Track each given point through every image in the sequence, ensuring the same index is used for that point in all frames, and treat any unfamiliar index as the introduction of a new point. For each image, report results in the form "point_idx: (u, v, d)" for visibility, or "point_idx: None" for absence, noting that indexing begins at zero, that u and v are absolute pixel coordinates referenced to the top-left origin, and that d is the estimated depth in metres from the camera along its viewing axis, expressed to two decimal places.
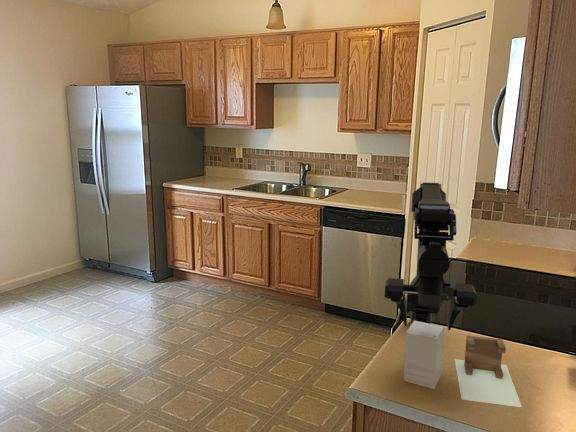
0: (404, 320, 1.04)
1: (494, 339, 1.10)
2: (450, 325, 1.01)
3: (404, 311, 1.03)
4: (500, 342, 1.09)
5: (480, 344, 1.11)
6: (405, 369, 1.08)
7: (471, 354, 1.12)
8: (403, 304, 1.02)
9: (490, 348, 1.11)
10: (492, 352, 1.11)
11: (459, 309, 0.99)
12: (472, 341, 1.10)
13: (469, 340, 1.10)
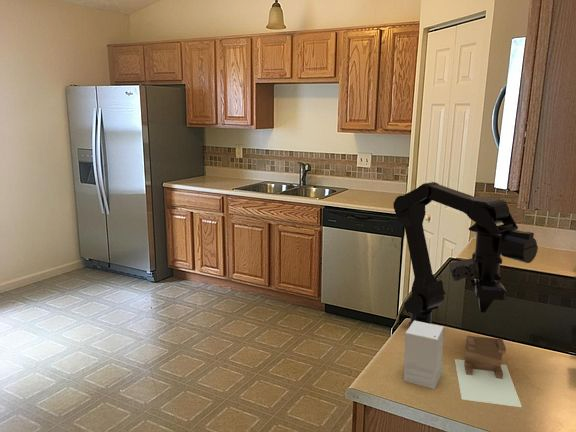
0: (479, 305, 1.16)
1: (494, 339, 1.10)
2: None
3: None
4: (500, 342, 1.09)
5: (480, 344, 1.11)
6: (405, 369, 1.08)
7: (471, 354, 1.12)
8: None
9: (490, 348, 1.11)
10: (492, 352, 1.11)
11: None
12: (472, 341, 1.10)
13: (469, 340, 1.10)
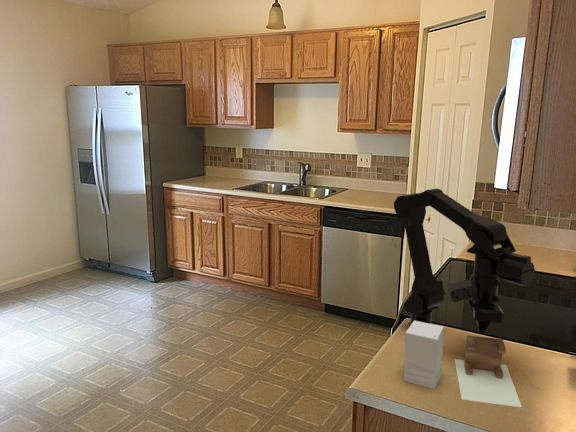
0: None
1: (494, 339, 1.10)
2: (478, 327, 1.16)
3: None
4: (500, 342, 1.09)
5: (480, 344, 1.11)
6: (405, 369, 1.08)
7: (471, 354, 1.12)
8: None
9: (490, 348, 1.11)
10: (492, 352, 1.11)
11: None
12: (472, 341, 1.10)
13: (469, 340, 1.10)
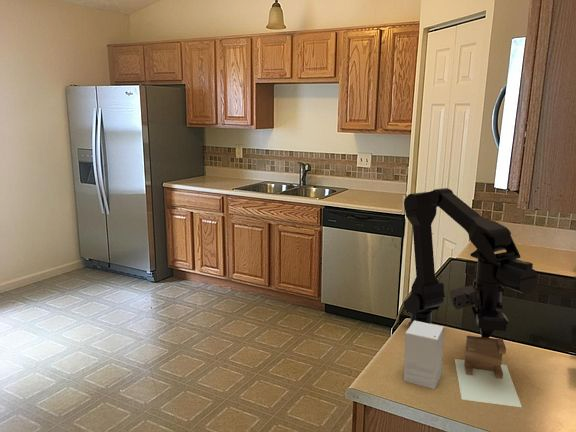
0: None
1: (494, 339, 1.10)
2: (481, 335, 1.12)
3: None
4: (500, 342, 1.09)
5: (480, 344, 1.11)
6: (405, 369, 1.08)
7: (471, 354, 1.12)
8: None
9: (490, 348, 1.10)
10: (492, 352, 1.10)
11: None
12: (472, 342, 1.09)
13: (469, 340, 1.10)
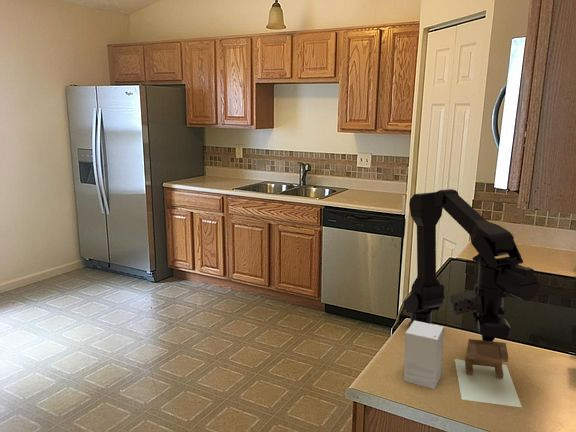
0: (482, 339, 1.10)
1: (497, 344, 1.07)
2: None
3: None
4: (503, 349, 1.06)
5: (482, 348, 1.08)
6: (405, 369, 1.08)
7: None
8: None
9: (492, 351, 1.08)
10: (494, 354, 1.08)
11: None
12: (474, 349, 1.06)
13: (471, 347, 1.07)
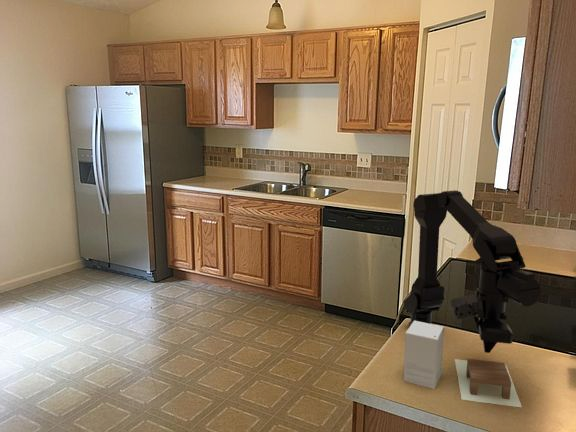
0: (483, 344, 1.08)
1: (501, 383, 1.01)
2: (484, 346, 1.07)
3: None
4: (506, 389, 1.01)
5: None
6: (405, 369, 1.08)
7: None
8: None
9: None
10: None
11: None
12: (475, 389, 1.02)
13: (472, 387, 1.02)
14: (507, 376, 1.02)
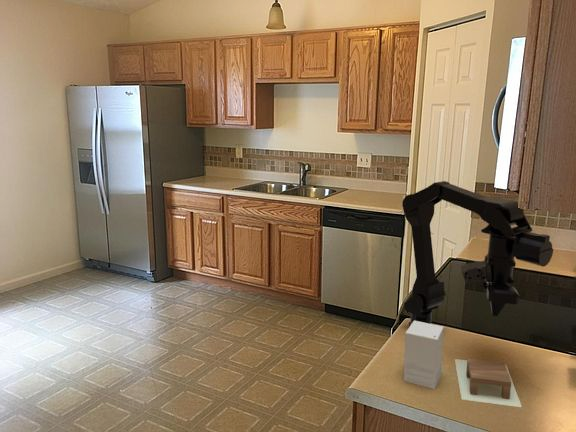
0: (491, 308, 1.13)
1: (501, 383, 1.01)
2: (491, 310, 1.12)
3: None
4: (506, 389, 1.01)
5: None
6: (405, 369, 1.08)
7: None
8: None
9: None
10: None
11: None
12: (475, 389, 1.02)
13: (472, 387, 1.02)
14: (507, 376, 1.02)
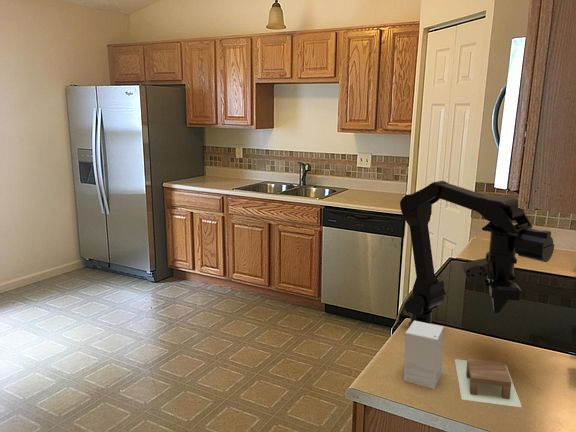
0: (493, 305, 1.14)
1: (501, 383, 1.01)
2: (493, 307, 1.13)
3: None
4: (506, 389, 1.01)
5: None
6: (405, 369, 1.08)
7: None
8: None
9: None
10: None
11: None
12: (475, 389, 1.02)
13: (472, 387, 1.02)
14: (507, 376, 1.02)
